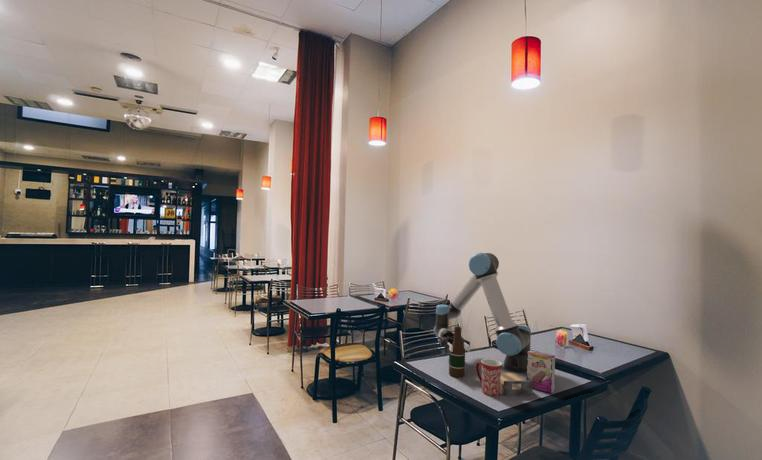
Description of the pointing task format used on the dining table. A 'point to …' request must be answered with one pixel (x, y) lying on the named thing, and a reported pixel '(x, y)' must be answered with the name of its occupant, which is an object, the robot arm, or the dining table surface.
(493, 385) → the mug
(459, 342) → the beer bottle
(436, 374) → the dining table surface
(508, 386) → the shelf step
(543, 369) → the candy bar box
